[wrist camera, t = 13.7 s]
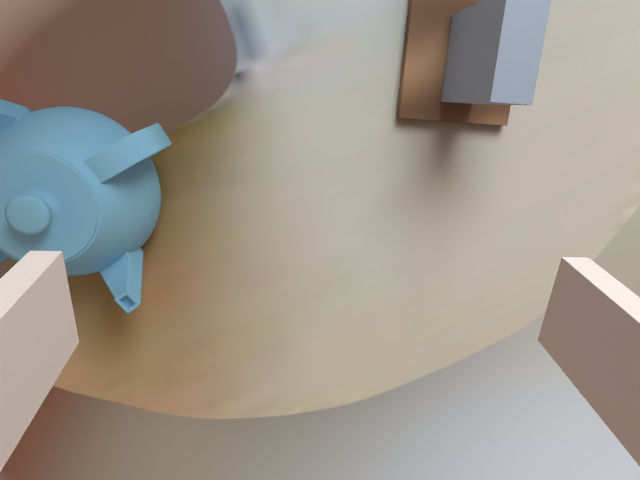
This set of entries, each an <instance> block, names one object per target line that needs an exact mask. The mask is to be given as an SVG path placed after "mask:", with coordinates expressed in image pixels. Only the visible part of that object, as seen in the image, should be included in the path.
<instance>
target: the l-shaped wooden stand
mask: <svg viewBox="0 0 640 480" xmlns="http://www.w3.org/2000/svg"><path fill="white" fill-rule="evenodd" d="M481 1H483V0H409V7H408V17H407V26H406V35H405V44H404V53H403V62H402V71H401V81H400V90H399V99H398V108H397V117H396V118H407V119H421V120H435V121H449V122H463V123H477V124H491V125H505V126H507V123H508V117H509V111H510V105H495V104H465V103H452V102H441V97H442V89H443V82H444V74H445V67H446V59H447V52H448V44H449V36H450V29H451V21H452V15H453V14H455V13H458V12H460V11H462V10H464V9H466V8H468V7H470V6H472V5H474V4H476V3H479V2H481Z"/></svg>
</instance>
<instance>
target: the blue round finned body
mask: <svg viewBox="0 0 640 480" xmlns="http://www.w3.org/2000/svg"><path fill="white" fill-rule="evenodd" d="M170 145H172V143H171V142H170V140H169V138H168V137H167V135H166V134H165V132H164V131H163V129H162V127H161V126H160V124H159V123H156V124H154V125H151V126H149V127H146V128H144V129H142V130H139V131H137V132H135V133H132V134H131V133H130V132H129V131H128V130H127V129H125V128H124V127H123V126H121V125H120V124H119V123H117V122H116V121H114V120H112V119H110V118H109V117H107V116H105V115H102V114H99V113H97V112H95V111H91V110H88V109H84V108H78V107H64V106H60V107H52V108H44V109H40V110H36V111H33V112H31V111H30V110H29V109H28V108H27V107H25V106H21V105H18V104H15V103H12V102H9V101H5V100H2V99H0V262H2V261H4V260H6V259H8V258H9V257H10V258H11V259H13V260H14V261H16V262H19V261H20V260H21V259H22V258H23V257H24V256H25V255H26V254H27V253H28V252H29V251H62V252H63V258H64V263H65V268H66V274H67V276H80V275H88V274H92V273H96V272H99V273H100V274H101V276H102V277H103V279H104V281H105V282H106V284H107V286H108V287H109V289H110V291H111V293H112V294H113V296H114V298H115V299H114V300H115V301H116V302H117V303H118V304H119V305H120V306H121V307H122V308H123V309H124V310H125V311H126V312H127V313H128V314H129V313H130V312H131V311H133V310H134V309H135V308H137V307H138V306H139V305H140V304H141V290H142V272H143V254H144V252H143V251H142V249H141V247H142V246H143V245H144V244H145V242H146V241H147V240H148V238H149V237H150V235H151V234H152V232H153V230H154V228H155V226H156V223H157V220H158V218H159V213H160V208H161V188H160V183H159V178H158V175H157V172H156V169H155V166H154V164H153V162H152V160H151V158H150V157H152V156H153V155H155V154H157V153H158V152H160V151H162V150H163V149H165V148H167V147H168V146H170Z"/></svg>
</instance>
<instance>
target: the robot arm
mask: <svg viewBox="0 0 640 480" xmlns="http://www.w3.org/2000/svg"><path fill="white" fill-rule="evenodd" d="M538 341H539V342H540V343H541V344H542V346H543V347H544V348H545V349H546V351H547V352H548V353H549V354H550V356H551V357H552V358H553V359H554V360H555V362H556V363H557V364H558V366H559V367H560V368H561V369H562V371H563V372H564V373H565V374H566V375H567V377H568V378H569V379H570V380H571V382H572V383H573V384H574V385H575V386H576V388H577V389H578V390H579V392H580V393H581V394H582V395H583V397H584V398H585V399H586V400H587V401H588V403H589V404H590V405H591V406H592V408H593V409H594V410H595V411H596V413H597V414H598V415H599V416H600V418H601V419H602V420H603V421H604V423H605V424H606V425H607V426H608V427H609V429H610V430H611V431H612V432H613V434H614V435H615V436H616V437H617V439H618V440H619V441H620V442H621V444H622V445H623V446H624V447H625V448H626V450H627V451H628V452H629V454H630V455H631V456H632V457H633V458H634V460H635V461H636V462H637V463H638V465H639V466H640V298H639V297H638V296H637V295H636V294H634V293H633V292H632V291H630V290H629V289H628V288H627V287H625V286H624V285H623V284H621V283H620V282H619V281H618V280H616V279H615V278H614V277H612V276H611V275H610V274H608V273H607V272H606V271H605V270H603V269H602V268H601V267H600V266H598V265H597V264H595V263H594V262H593V261H592V260H590V259H589V258H576V257H562V258H561V262H560V265H559V269H558V272H557V276H556V279H555V282H554V286H553V289H552V293H551V296H550V300H549V303H548V307H547V310H546V313H545V317H544V320H543V324H542V327H541V331H540V334H539V338H538ZM78 343H79V339H78V333H77V328H76V323H75V317H74V312H73V306H72V301H71V296H70V290H69V285H68V279H67V274H66V268H65V263H64V258H63V252H62V251H29V252H28V253H27V254H26V255H25V256H24V257H23V258H22V259H21V260H20V261H19V262H18V263H16V264H15V265H14V266H13V267H12V268H11V269H10V270H9V271H8V272H7V273H6V274H5V275H4V276H3V277H2V278H1V279H0V472H1V470H2V468H3V467H4V465H5V463H6V462H7V460H8V459H9V457H10V455H11V454H12V452H13V450H14V448H15V447H16V445H17V444H18V442H19V440H20V439H21V437H22V435H23V434H24V432H25V430H26V429H27V427H28V426H29V424H30V422H31V420H32V419H33V417H34V416H35V414H36V412H37V411H38V409H39V407H40V406H41V404H42V402H43V401H44V399H45V398H46V396H47V394H48V393H49V391H50V389H51V388H52V386H53V384H54V383H55V381H56V379H57V378H58V376H59V374H60V373H61V371H62V370H63V368H64V366H65V365H66V363H67V361H68V360H69V358H70V356H71V355H72V353H73V351H74V350H75V348H76V346H77V345H78Z"/></svg>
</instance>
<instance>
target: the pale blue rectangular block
mask: <svg viewBox="0 0 640 480" xmlns="http://www.w3.org/2000/svg"><path fill="white" fill-rule="evenodd" d="M550 2H551V0H483V1H481V2H479V3H476V4H474V5H472V6H470V7H468V8H466V9H464V10H462V11H460V12H458V13H455V14H453V15H452V21H451V29H450V36H449V44H448V52H447V59H446V67H445V74H444V82H443V89H442V97H441V102H452V103H465V104H495V105H532V102H533V96H534V91H535V85H536V80H537V74H538V69H539V63H540V58H541V52H542V47H543V41H544V36H545V30H546V24H547V19H548V13H549V8H550Z"/></svg>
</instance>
